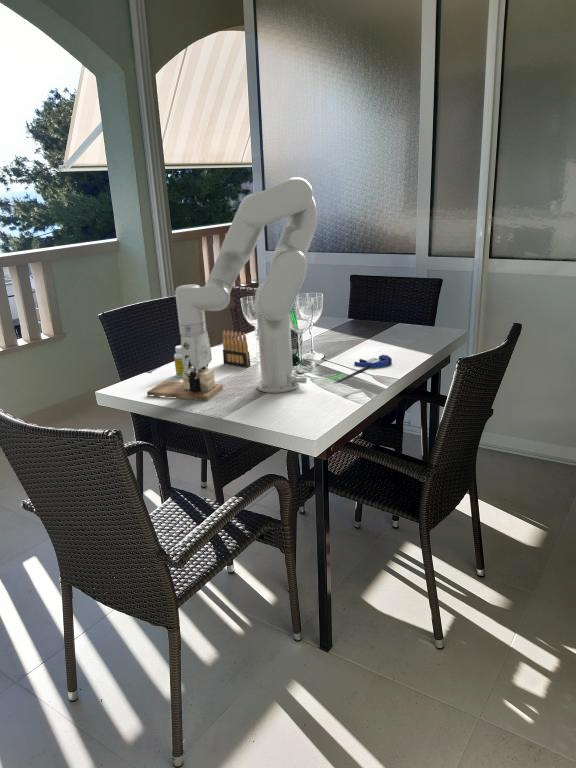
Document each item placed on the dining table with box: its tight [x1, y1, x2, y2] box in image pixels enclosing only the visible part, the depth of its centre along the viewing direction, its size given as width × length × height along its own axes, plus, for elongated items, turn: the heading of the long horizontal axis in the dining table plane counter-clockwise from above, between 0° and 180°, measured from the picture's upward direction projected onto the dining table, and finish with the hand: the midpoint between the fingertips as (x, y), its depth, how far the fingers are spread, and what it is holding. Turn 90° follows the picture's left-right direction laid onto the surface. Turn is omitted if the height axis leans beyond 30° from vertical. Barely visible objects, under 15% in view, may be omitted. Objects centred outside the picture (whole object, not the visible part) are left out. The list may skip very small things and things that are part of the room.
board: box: [146, 380, 224, 401], centre depth 182 cm, size 20×10×2 cm, turn 71°
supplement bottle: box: [173, 344, 193, 378], centre depth 198 cm, size 5×5×10 cm
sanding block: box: [182, 368, 216, 392], centre depth 179 cm, size 8×4×6 cm, turn 71°
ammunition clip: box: [222, 329, 252, 369], centre depth 204 cm, size 11×2×12 cm, turn 54°
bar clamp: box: [332, 354, 393, 385], centre depth 190 cm, size 32×2×10 cm
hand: (199, 387), depth 180 cm, fingers closed on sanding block, 4 cm apart
